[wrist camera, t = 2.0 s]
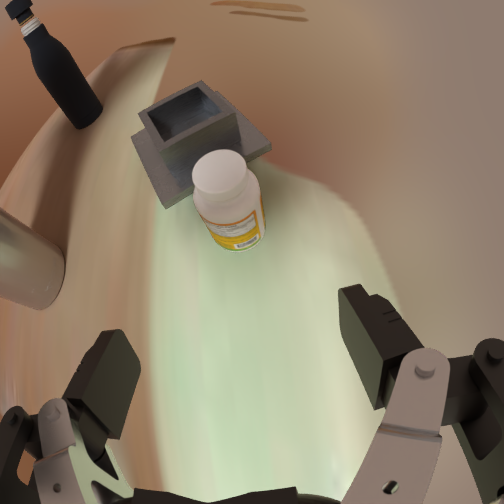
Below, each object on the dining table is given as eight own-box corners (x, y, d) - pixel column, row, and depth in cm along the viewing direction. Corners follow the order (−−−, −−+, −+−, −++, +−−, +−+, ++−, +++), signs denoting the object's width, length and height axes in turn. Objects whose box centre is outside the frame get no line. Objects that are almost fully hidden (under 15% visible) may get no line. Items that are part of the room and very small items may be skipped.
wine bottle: (77, 134, 39) (-6, 13, 11) (72, 121, 41) (0, 13, 13) (106, 112, 40) (33, -16, 12) (98, 101, 42) (34, -13, 14)
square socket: (165, 209, 30) (144, 180, 25) (133, 142, 35) (116, 115, 30) (271, 149, 31) (268, 114, 26) (218, 96, 36) (210, 66, 31)
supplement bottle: (227, 199, 30) (204, 136, 20) (274, 214, 28) (268, 151, 19) (203, 242, 28) (168, 189, 19) (252, 261, 27) (235, 211, 18)
